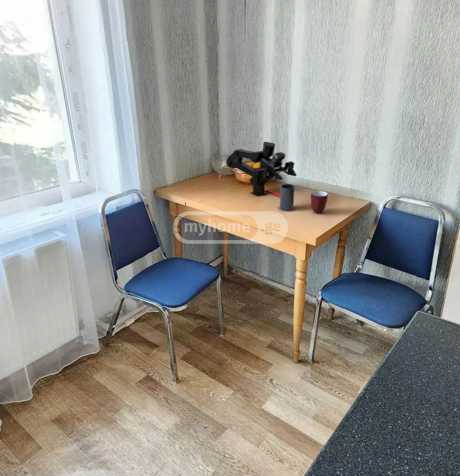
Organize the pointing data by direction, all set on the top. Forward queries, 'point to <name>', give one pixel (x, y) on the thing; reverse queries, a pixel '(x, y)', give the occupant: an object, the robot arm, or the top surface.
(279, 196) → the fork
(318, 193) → the mug
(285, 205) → the grey cylindrical cup
